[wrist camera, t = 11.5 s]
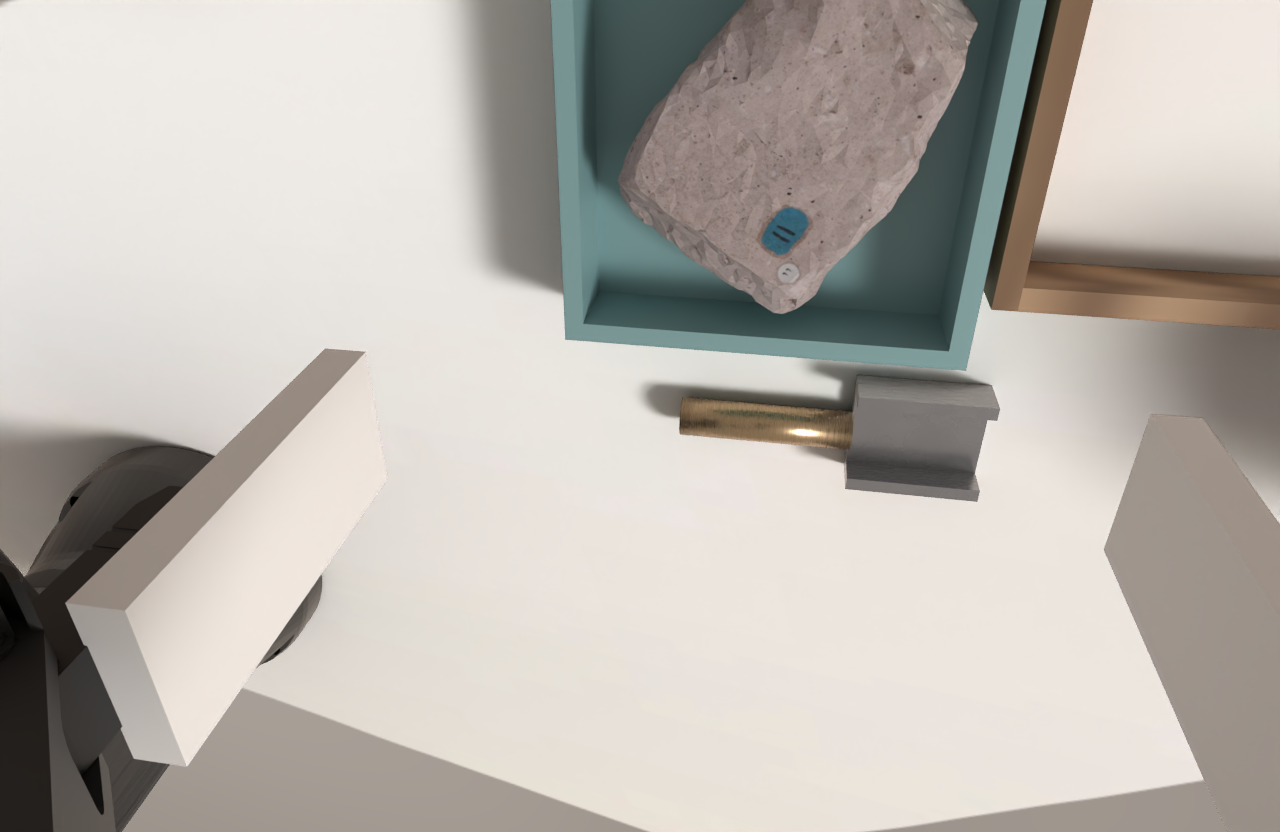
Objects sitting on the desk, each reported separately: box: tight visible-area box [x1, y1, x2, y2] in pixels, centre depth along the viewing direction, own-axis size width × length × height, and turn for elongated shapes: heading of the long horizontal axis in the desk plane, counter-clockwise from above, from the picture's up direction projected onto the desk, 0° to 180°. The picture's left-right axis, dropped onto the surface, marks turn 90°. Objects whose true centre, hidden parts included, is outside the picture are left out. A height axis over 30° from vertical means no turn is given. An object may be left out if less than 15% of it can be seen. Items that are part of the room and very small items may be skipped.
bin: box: [551, 0, 1047, 371], centre depth 35 cm, size 17×18×4 cm
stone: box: [618, 0, 978, 314], centre depth 33 cm, size 13×10×6 cm
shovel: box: [679, 375, 1000, 502], centre depth 42 cm, size 14×5×2 cm, turn 90°
